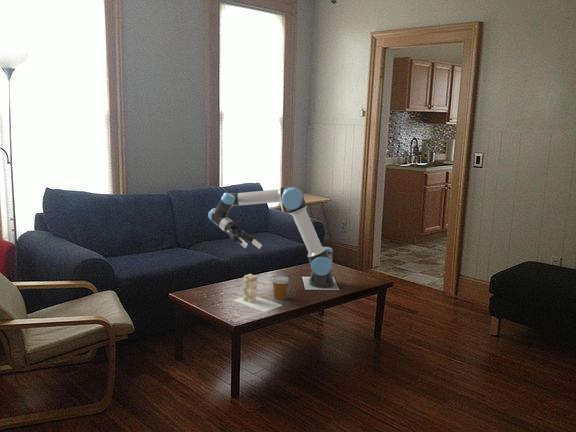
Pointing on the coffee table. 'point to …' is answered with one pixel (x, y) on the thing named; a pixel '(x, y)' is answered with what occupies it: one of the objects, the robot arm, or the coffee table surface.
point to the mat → (259, 304)
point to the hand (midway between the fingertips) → (253, 246)
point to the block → (250, 288)
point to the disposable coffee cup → (280, 287)
